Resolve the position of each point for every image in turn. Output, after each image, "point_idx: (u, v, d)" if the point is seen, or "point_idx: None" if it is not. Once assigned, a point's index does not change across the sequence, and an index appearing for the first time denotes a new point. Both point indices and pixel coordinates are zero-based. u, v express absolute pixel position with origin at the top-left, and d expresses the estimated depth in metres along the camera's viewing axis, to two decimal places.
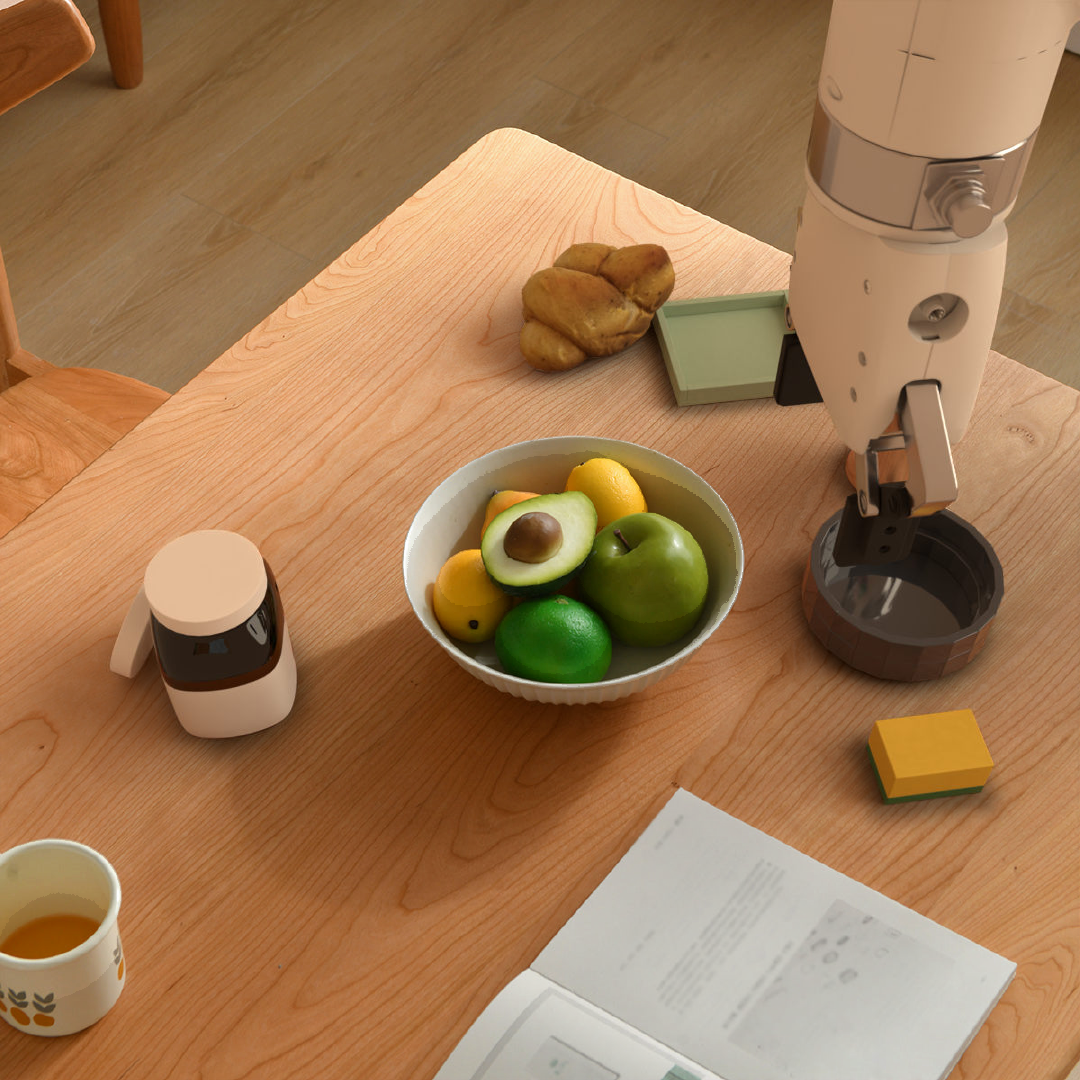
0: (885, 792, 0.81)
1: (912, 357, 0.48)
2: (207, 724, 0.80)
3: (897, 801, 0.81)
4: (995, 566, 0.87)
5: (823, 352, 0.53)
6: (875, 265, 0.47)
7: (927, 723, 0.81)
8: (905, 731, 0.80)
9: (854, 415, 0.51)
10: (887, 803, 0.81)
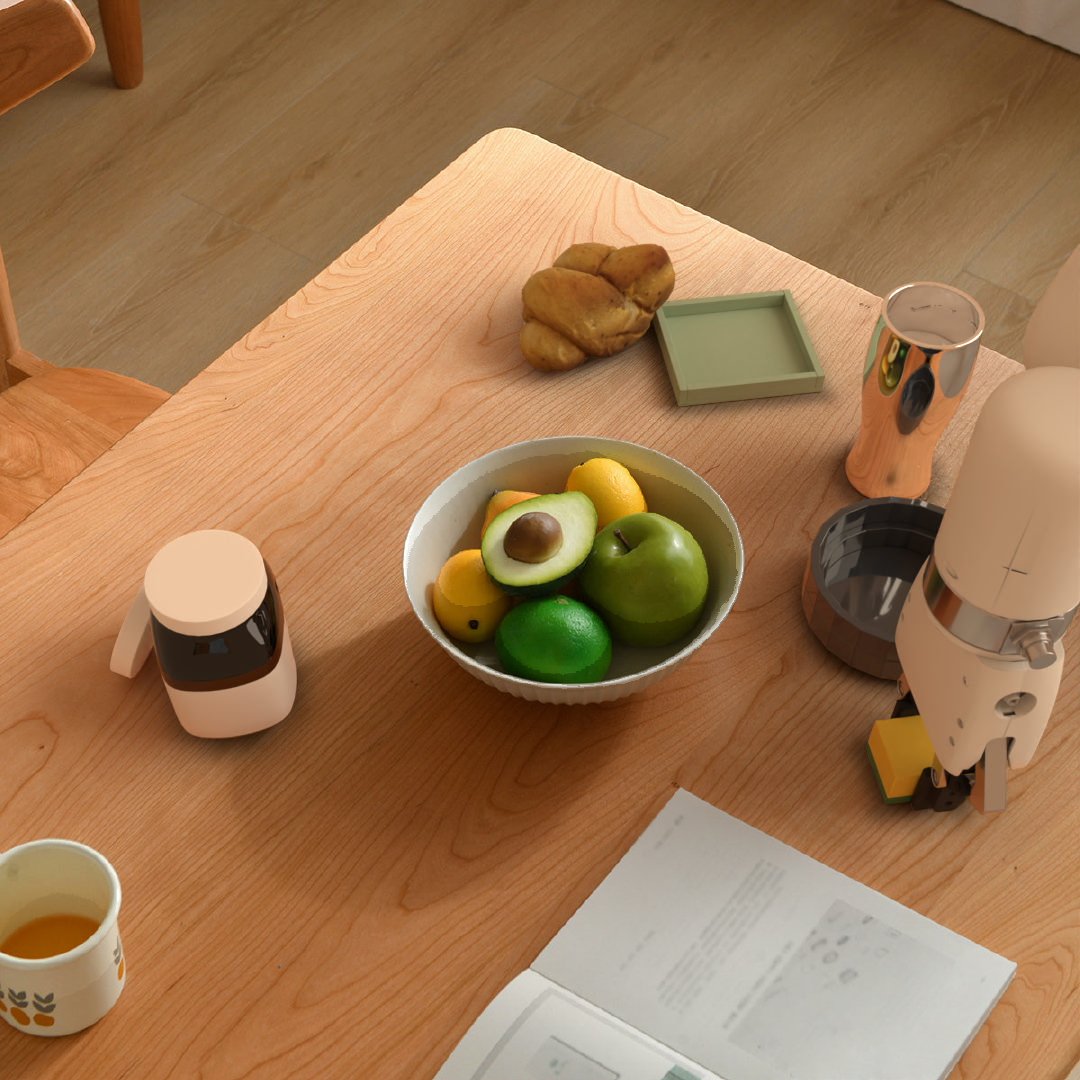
0: (885, 792, 0.81)
1: (996, 726, 0.69)
2: (207, 724, 0.80)
3: (897, 801, 0.81)
4: None
5: (927, 700, 0.74)
6: (972, 671, 0.68)
7: None
8: (905, 731, 0.80)
9: (952, 754, 0.72)
10: (887, 803, 0.81)
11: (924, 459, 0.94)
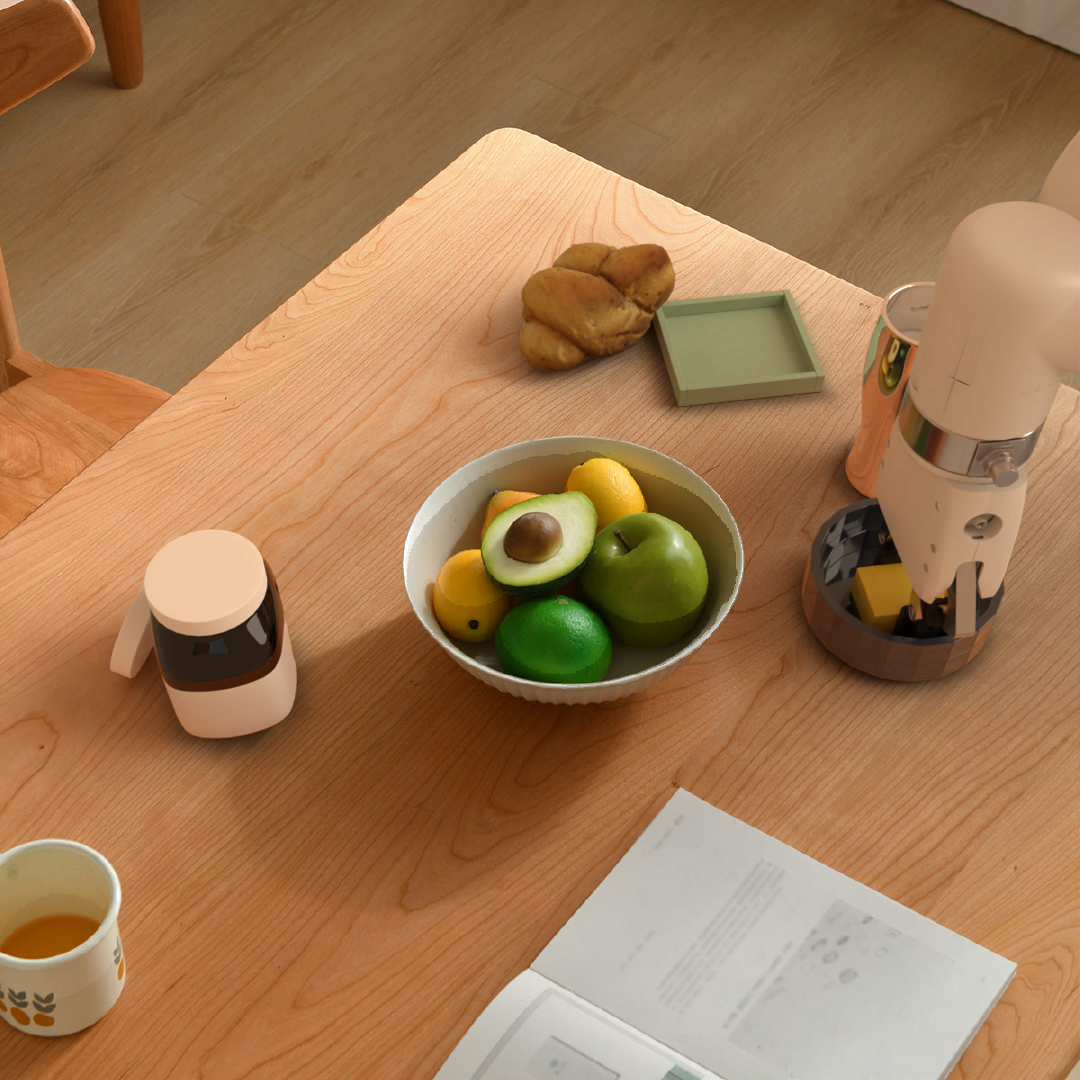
0: None
1: (965, 549, 0.76)
2: (207, 724, 0.80)
3: None
4: None
5: (904, 535, 0.80)
6: (943, 495, 0.74)
7: (905, 570, 0.87)
8: (884, 576, 0.87)
9: (926, 580, 0.78)
10: None
11: None
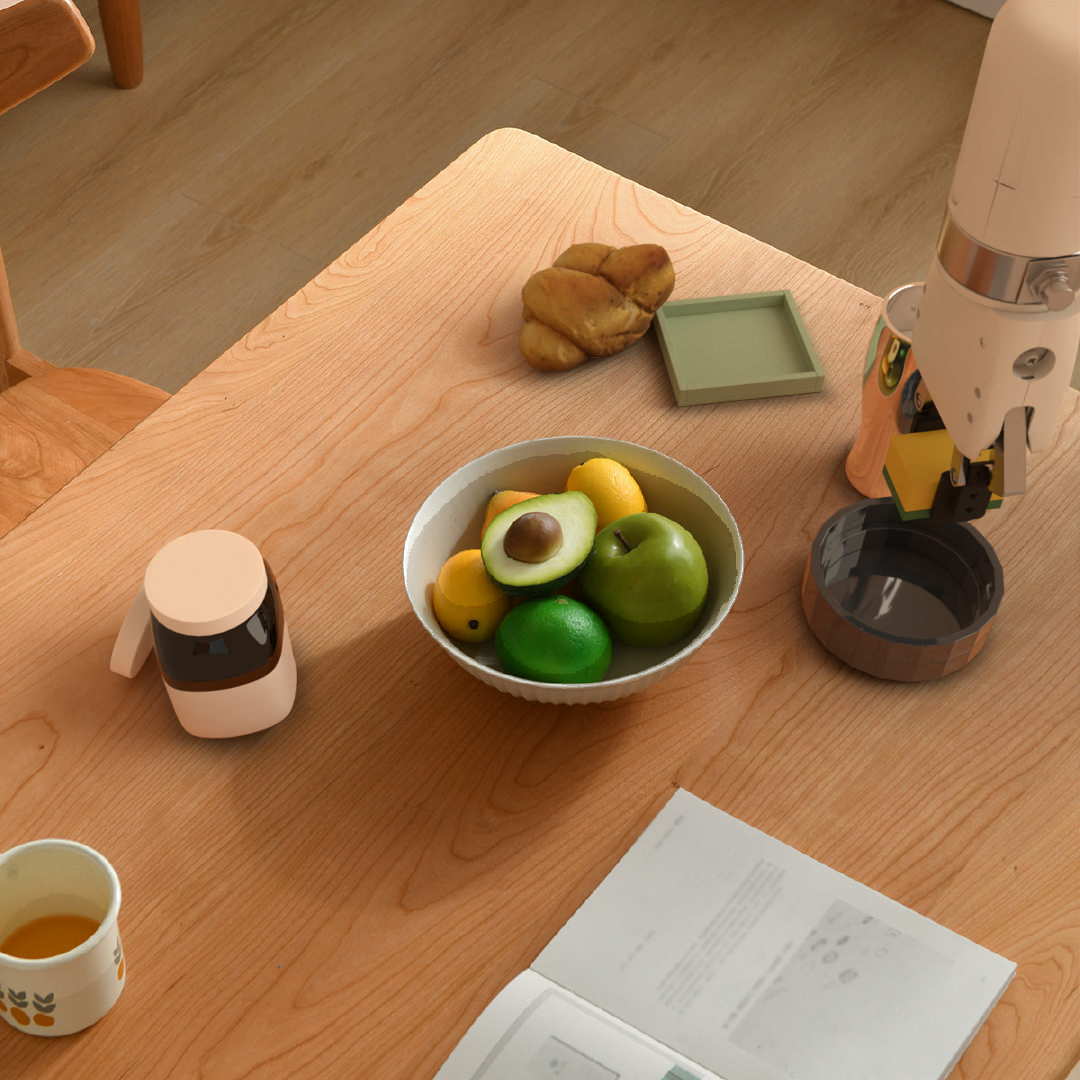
0: (902, 507, 0.79)
1: (1014, 391, 0.68)
2: (207, 724, 0.80)
3: (915, 516, 0.79)
4: (995, 566, 0.87)
5: (944, 386, 0.73)
6: (989, 328, 0.66)
7: (944, 437, 0.80)
8: (921, 444, 0.79)
9: (970, 432, 0.71)
10: (904, 519, 0.80)
11: None
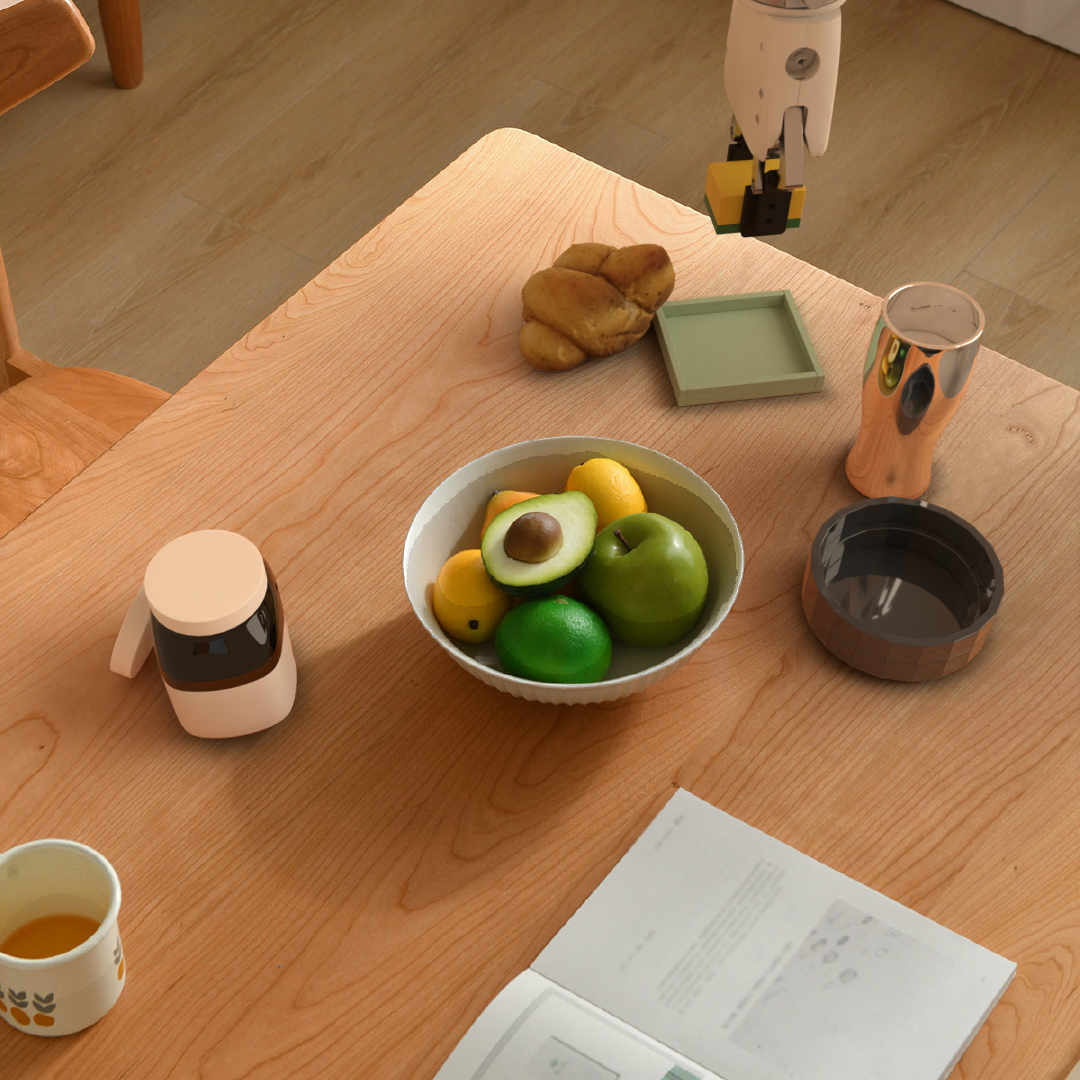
0: (716, 222, 0.94)
1: (789, 90, 0.83)
2: (207, 724, 0.80)
3: (726, 230, 0.94)
4: (995, 566, 0.87)
5: (741, 100, 0.88)
6: (766, 32, 0.81)
7: (752, 164, 0.94)
8: (733, 169, 0.94)
9: (758, 132, 0.86)
10: (718, 233, 0.94)
11: (924, 459, 0.94)
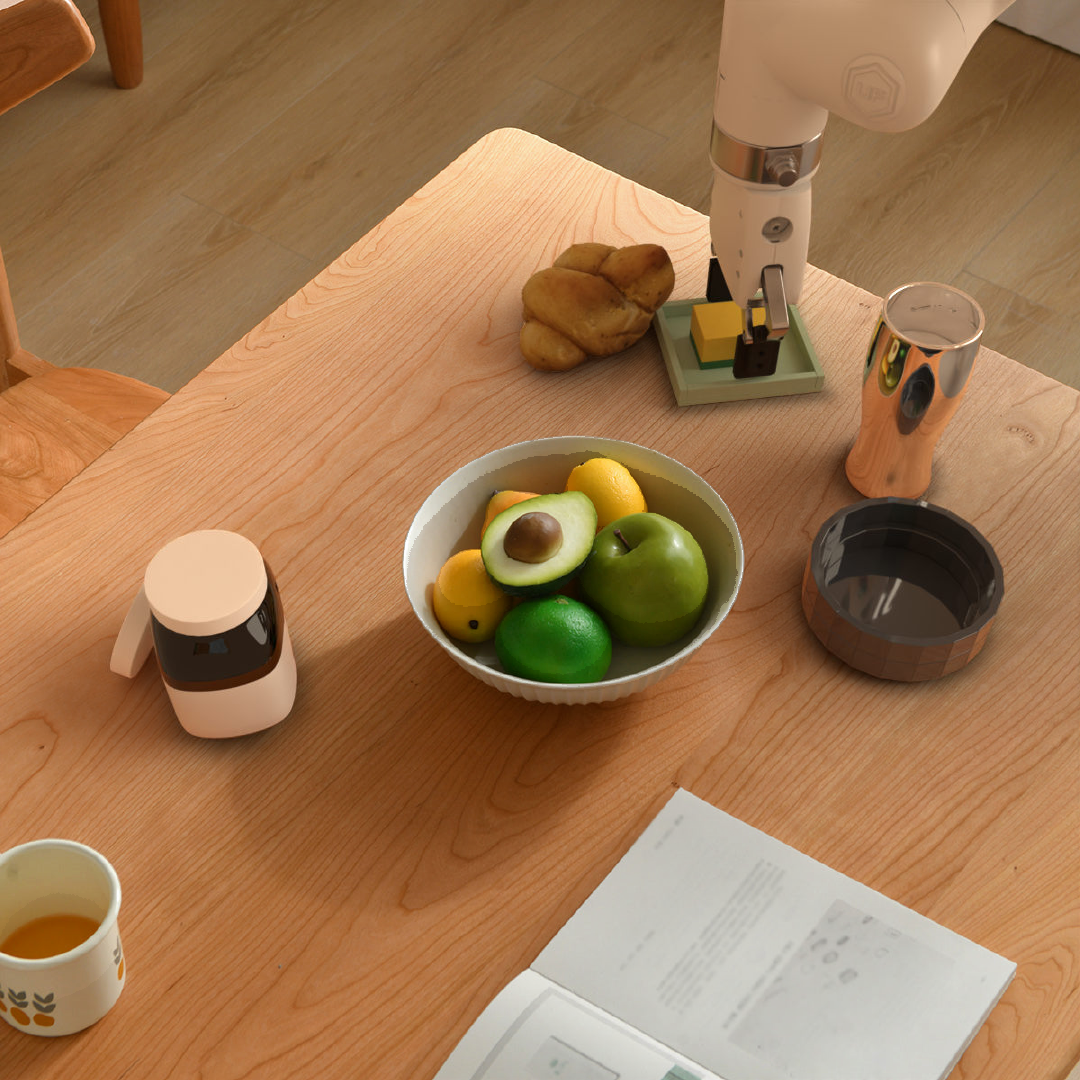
0: (700, 359, 1.04)
1: (766, 251, 0.92)
2: (207, 724, 0.80)
3: (709, 366, 1.04)
4: (995, 566, 0.87)
5: (724, 254, 0.97)
6: (744, 202, 0.91)
7: (733, 306, 1.04)
8: (715, 311, 1.04)
9: (739, 286, 0.95)
10: (701, 368, 1.04)
11: (924, 459, 0.94)
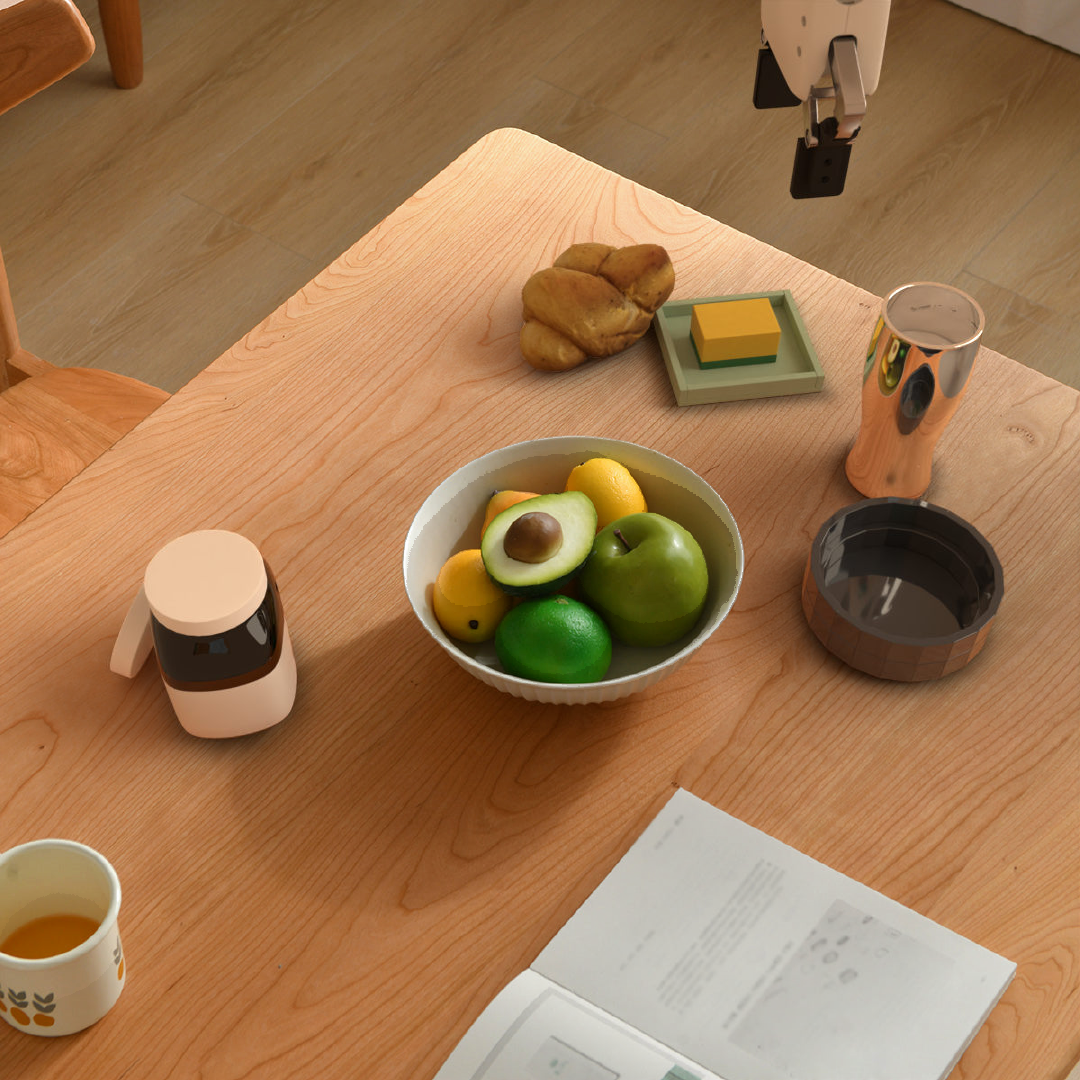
0: (700, 359, 1.04)
1: (836, 16, 0.73)
2: (207, 724, 0.80)
3: (709, 366, 1.04)
4: (995, 566, 0.87)
5: (781, 33, 0.78)
6: None
7: (733, 306, 1.04)
8: (715, 311, 1.04)
9: (800, 67, 0.76)
10: (701, 368, 1.04)
11: (924, 459, 0.94)
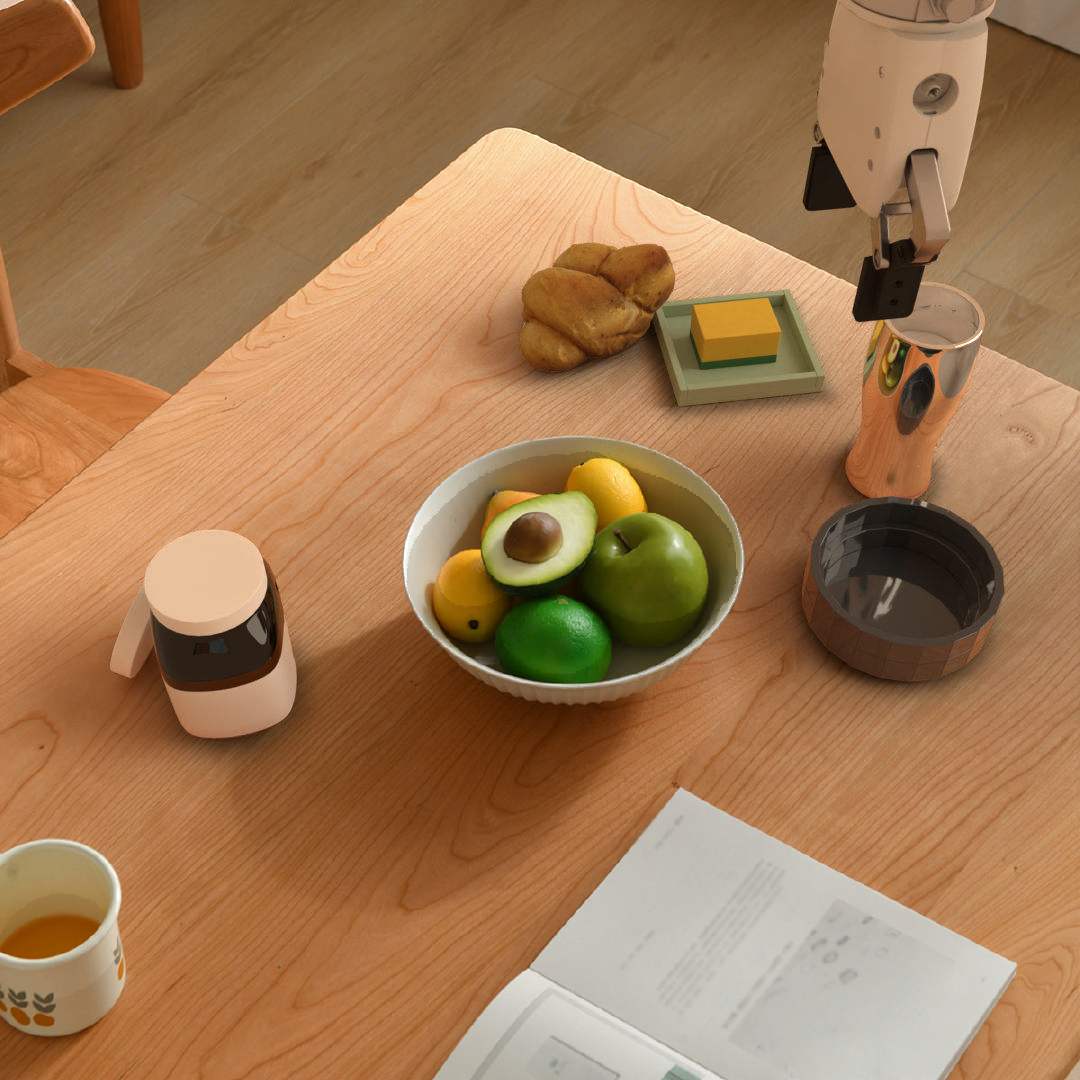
0: (700, 359, 1.04)
1: (915, 128, 0.63)
2: (207, 724, 0.80)
3: (709, 366, 1.04)
4: (995, 566, 0.87)
5: (846, 140, 0.68)
6: (888, 53, 0.62)
7: (733, 306, 1.04)
8: (715, 311, 1.04)
9: (870, 182, 0.66)
10: (701, 368, 1.04)
11: (924, 459, 0.94)
